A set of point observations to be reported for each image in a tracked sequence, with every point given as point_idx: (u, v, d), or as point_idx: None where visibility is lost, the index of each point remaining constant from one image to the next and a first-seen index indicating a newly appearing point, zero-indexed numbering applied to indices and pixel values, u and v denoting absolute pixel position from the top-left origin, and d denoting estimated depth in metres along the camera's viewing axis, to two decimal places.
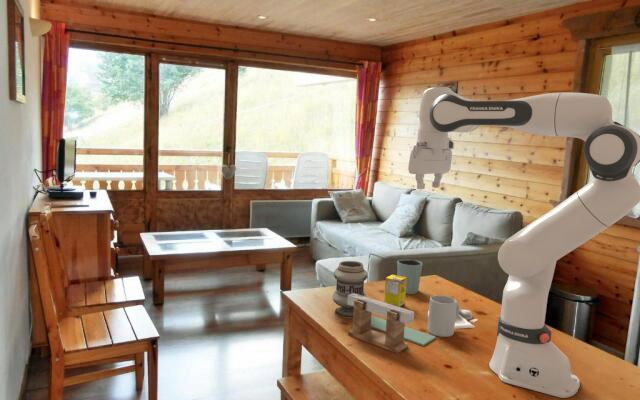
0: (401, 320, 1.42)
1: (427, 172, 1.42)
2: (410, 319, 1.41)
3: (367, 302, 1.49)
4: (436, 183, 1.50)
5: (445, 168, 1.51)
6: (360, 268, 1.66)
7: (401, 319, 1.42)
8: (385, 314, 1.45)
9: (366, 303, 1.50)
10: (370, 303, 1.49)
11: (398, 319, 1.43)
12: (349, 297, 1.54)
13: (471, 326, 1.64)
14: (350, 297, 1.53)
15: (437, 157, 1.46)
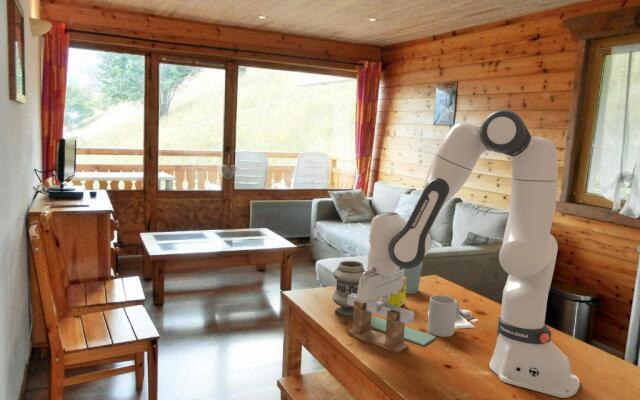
0: (401, 320, 1.42)
1: (376, 298, 1.43)
2: (410, 319, 1.41)
3: None
4: None
5: (397, 287, 1.52)
6: (360, 268, 1.66)
7: (401, 319, 1.42)
8: (385, 314, 1.45)
9: (366, 303, 1.50)
10: (370, 303, 1.49)
11: (398, 319, 1.43)
12: (349, 297, 1.54)
13: (471, 326, 1.64)
14: (350, 297, 1.53)
15: (387, 280, 1.47)
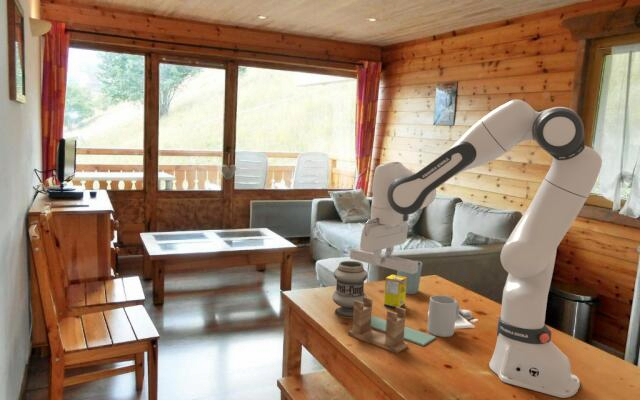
0: (405, 270, 1.40)
1: (380, 248, 1.41)
2: (414, 269, 1.39)
3: (370, 255, 1.47)
4: None
5: (401, 240, 1.50)
6: (360, 268, 1.66)
7: (405, 269, 1.40)
8: (389, 265, 1.43)
9: (369, 256, 1.48)
10: (373, 255, 1.47)
11: (402, 269, 1.40)
12: (352, 251, 1.52)
13: (471, 326, 1.64)
14: (353, 251, 1.51)
15: (391, 231, 1.45)
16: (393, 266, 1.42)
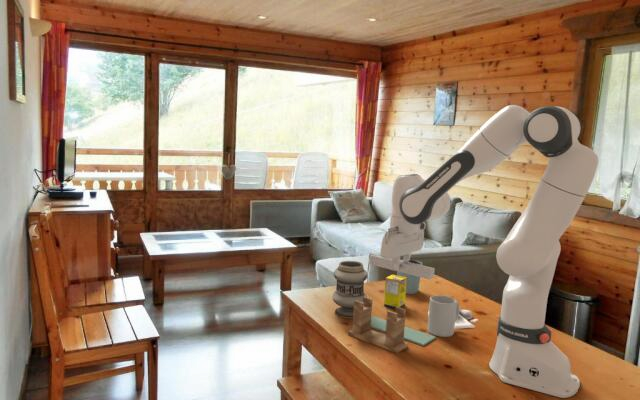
0: (422, 276, 1.49)
1: (399, 255, 1.50)
2: (431, 275, 1.48)
3: (389, 261, 1.56)
4: None
5: (417, 247, 1.58)
6: (360, 268, 1.66)
7: (422, 275, 1.49)
8: (406, 271, 1.52)
9: (388, 262, 1.56)
10: (392, 261, 1.55)
11: (419, 275, 1.49)
12: (371, 257, 1.61)
13: (471, 326, 1.64)
14: (372, 257, 1.60)
15: (409, 239, 1.54)
16: (411, 272, 1.51)
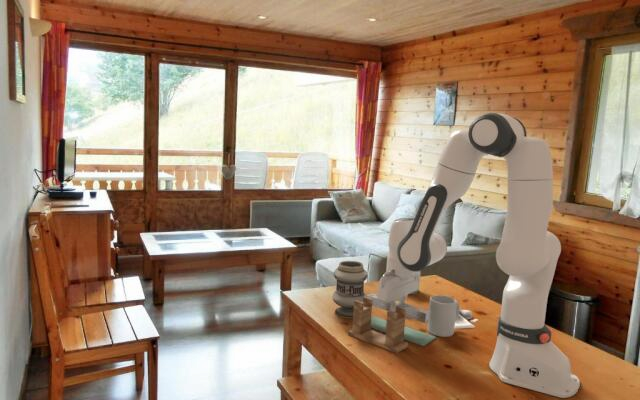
0: (418, 319, 1.51)
1: (395, 298, 1.52)
2: (427, 318, 1.50)
3: None
4: None
5: (414, 288, 1.60)
6: (360, 268, 1.66)
7: (418, 318, 1.51)
8: None
9: (384, 303, 1.58)
10: (388, 303, 1.57)
11: (415, 318, 1.51)
12: (368, 297, 1.63)
13: (471, 326, 1.64)
14: (369, 297, 1.62)
15: (405, 281, 1.56)
16: (407, 314, 1.53)
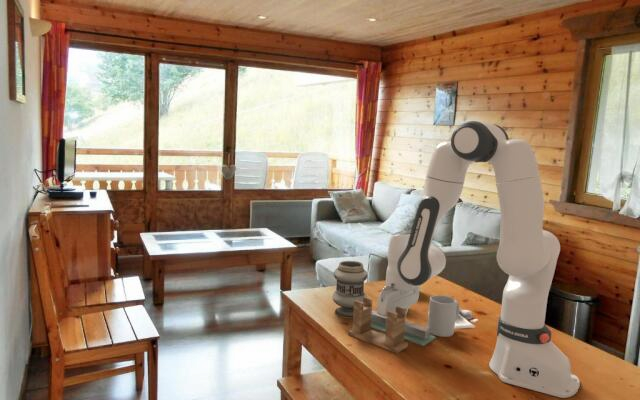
0: (418, 337, 1.51)
1: None
2: (426, 336, 1.51)
3: (385, 319, 1.59)
4: None
5: (413, 300, 1.61)
6: (360, 268, 1.66)
7: (418, 336, 1.51)
8: None
9: (384, 320, 1.59)
10: None
11: (415, 336, 1.52)
12: None
13: (472, 326, 1.64)
14: None
15: (405, 294, 1.56)
16: (406, 332, 1.54)
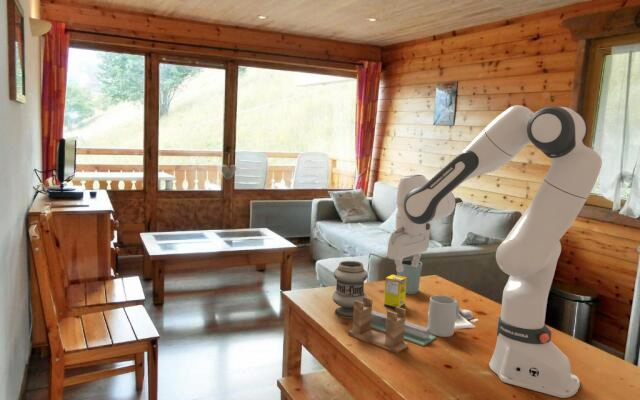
0: (418, 337, 1.51)
1: (405, 256, 1.50)
2: (426, 336, 1.51)
3: (385, 319, 1.59)
4: (415, 262, 1.58)
5: (423, 247, 1.59)
6: (360, 268, 1.66)
7: (418, 336, 1.51)
8: None
9: (384, 320, 1.59)
10: None
11: (415, 336, 1.52)
12: None
13: (472, 326, 1.64)
14: None
15: (415, 240, 1.54)
16: (406, 332, 1.54)
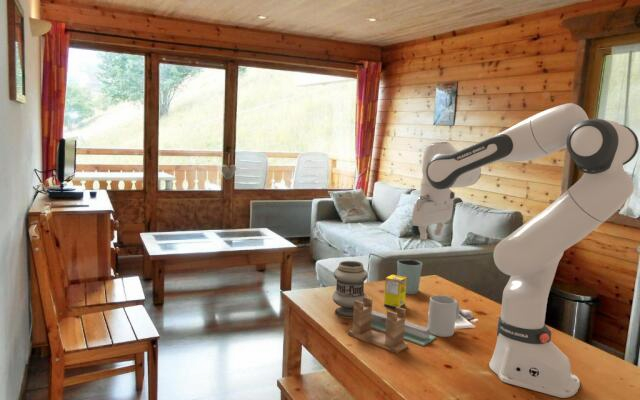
0: (418, 337, 1.51)
1: (430, 223, 1.50)
2: (426, 336, 1.51)
3: (385, 319, 1.59)
4: (438, 231, 1.58)
5: (447, 217, 1.59)
6: (360, 268, 1.66)
7: (418, 336, 1.51)
8: None
9: (384, 320, 1.59)
10: None
11: (415, 336, 1.52)
12: None
13: (472, 326, 1.64)
14: None
15: (439, 208, 1.54)
16: (406, 332, 1.54)
